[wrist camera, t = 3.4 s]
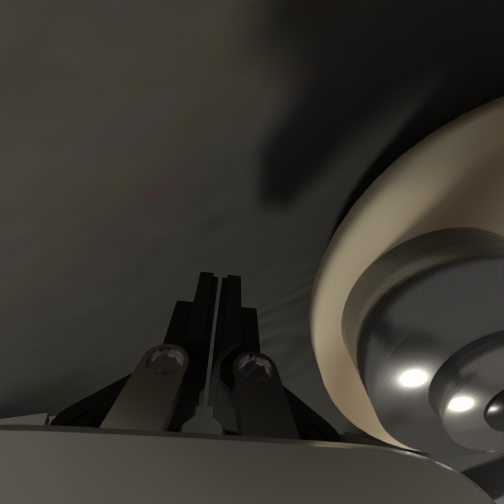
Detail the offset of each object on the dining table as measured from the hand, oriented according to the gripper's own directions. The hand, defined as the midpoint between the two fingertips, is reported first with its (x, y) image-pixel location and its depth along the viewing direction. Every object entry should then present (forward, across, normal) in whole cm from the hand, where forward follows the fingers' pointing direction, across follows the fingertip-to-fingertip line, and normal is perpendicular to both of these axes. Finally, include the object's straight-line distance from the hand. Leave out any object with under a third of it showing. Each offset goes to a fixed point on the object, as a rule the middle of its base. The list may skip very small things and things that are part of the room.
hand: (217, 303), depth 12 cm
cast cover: (+1, -10, 0) cm, 11 cm away
